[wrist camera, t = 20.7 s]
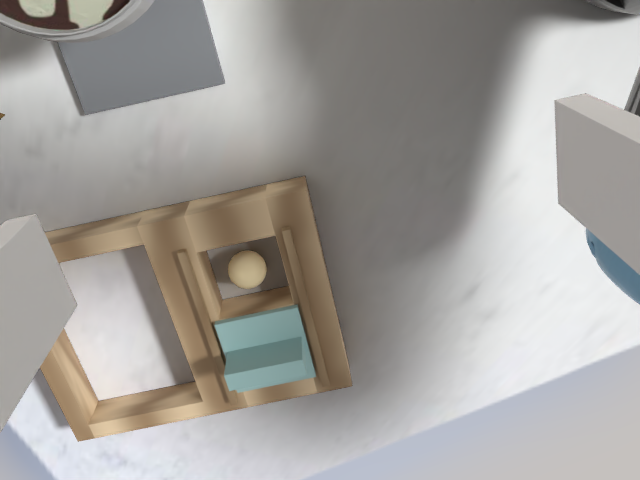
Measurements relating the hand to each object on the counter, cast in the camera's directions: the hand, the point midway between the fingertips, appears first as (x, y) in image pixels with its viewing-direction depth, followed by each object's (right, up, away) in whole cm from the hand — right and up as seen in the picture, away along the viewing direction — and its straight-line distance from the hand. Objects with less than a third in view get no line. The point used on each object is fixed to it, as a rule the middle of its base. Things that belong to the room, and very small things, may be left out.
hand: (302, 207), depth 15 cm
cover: (-4, -10, +33) cm, 34 cm away
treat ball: (-5, -2, +33) cm, 33 cm away
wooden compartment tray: (-11, -6, +34) cm, 36 cm away
